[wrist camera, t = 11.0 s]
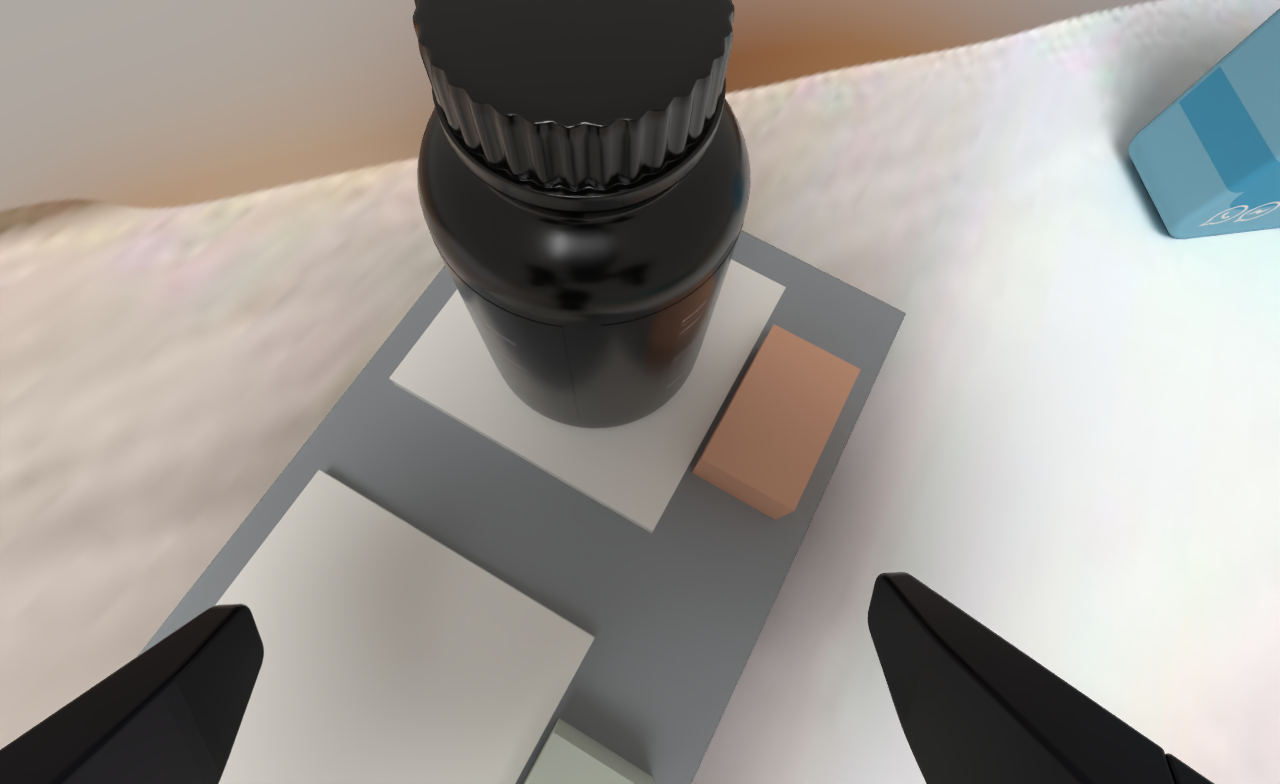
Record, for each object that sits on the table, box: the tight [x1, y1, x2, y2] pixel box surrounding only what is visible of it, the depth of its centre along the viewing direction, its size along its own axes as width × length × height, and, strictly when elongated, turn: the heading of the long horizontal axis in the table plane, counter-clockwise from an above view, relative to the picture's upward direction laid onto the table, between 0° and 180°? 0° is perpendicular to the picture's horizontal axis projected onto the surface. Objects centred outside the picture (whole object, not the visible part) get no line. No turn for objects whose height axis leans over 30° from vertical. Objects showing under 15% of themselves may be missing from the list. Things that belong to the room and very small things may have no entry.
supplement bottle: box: [413, 0, 750, 428], centre depth 15 cm, size 7×7×12 cm
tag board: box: [137, 230, 906, 784], centre depth 18 cm, size 15×26×4 cm, turn 151°
